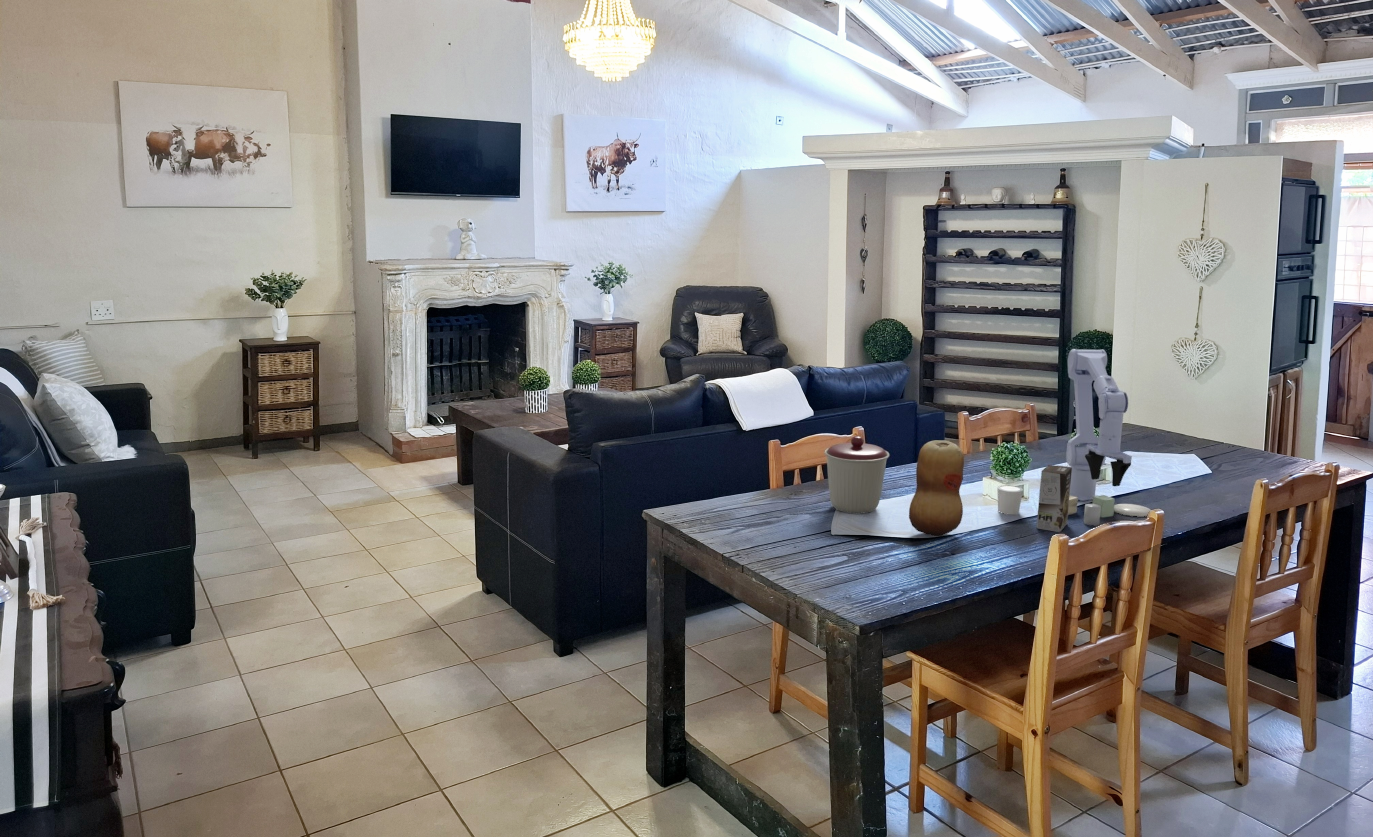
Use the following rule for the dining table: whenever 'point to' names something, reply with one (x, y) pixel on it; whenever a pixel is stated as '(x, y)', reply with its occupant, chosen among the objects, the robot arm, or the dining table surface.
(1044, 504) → the coffee box
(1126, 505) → the saucer
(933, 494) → the butternut squash
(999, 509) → the white cup
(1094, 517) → the grey cylinder
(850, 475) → the canister
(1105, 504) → the sage block
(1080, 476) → the robot arm
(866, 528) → the dining table surface
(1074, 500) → the birch cube
